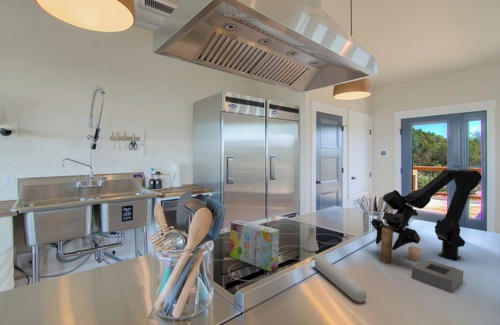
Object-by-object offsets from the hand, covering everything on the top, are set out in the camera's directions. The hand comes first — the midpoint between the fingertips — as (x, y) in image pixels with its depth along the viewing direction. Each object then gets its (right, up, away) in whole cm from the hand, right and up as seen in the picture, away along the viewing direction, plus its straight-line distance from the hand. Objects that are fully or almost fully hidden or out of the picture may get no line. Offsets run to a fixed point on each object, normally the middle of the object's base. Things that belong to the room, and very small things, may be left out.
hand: (384, 246), depth 105 cm
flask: (-27, -6, +12) cm, 30 cm away
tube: (-25, -7, -17) cm, 31 cm away
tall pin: (+1, -7, +1) cm, 7 cm away
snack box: (-54, -6, -2) cm, 55 cm away
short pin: (+14, -7, +3) cm, 16 cm away
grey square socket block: (+12, -8, -13) cm, 19 cm away
